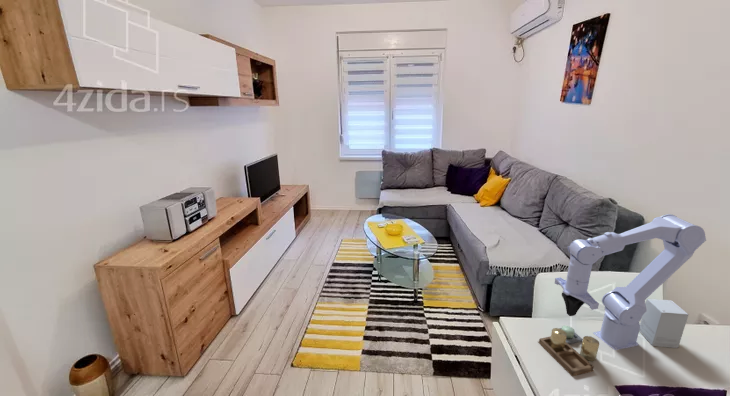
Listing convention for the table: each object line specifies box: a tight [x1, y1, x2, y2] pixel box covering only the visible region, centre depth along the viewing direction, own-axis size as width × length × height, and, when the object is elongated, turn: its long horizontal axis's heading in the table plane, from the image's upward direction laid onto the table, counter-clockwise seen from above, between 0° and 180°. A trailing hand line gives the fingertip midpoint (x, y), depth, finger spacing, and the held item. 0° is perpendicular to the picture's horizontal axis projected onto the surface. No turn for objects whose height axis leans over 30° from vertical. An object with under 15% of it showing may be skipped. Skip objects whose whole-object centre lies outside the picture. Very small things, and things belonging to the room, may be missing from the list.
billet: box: [579, 335, 600, 363], centre depth 96 cm, size 4×4×6 cm
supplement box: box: [639, 298, 690, 349], centre depth 101 cm, size 7×7×13 cm
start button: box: [561, 325, 576, 339], centre depth 104 cm, size 4×4×2 cm
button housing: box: [559, 327, 583, 345], centre depth 105 cm, size 6×6×2 cm
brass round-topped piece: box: [549, 327, 567, 352], centre depth 99 cm, size 4×4×6 cm
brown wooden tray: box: [537, 335, 595, 377], centre depth 97 cm, size 8×14×2 cm, turn 12°
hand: (571, 314), depth 102 cm, fingers closed
